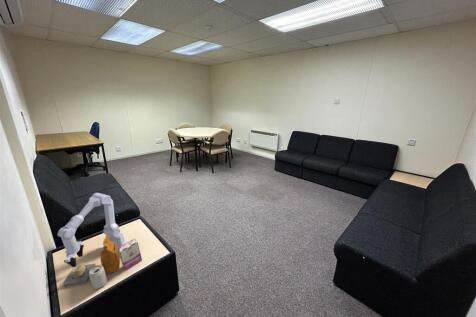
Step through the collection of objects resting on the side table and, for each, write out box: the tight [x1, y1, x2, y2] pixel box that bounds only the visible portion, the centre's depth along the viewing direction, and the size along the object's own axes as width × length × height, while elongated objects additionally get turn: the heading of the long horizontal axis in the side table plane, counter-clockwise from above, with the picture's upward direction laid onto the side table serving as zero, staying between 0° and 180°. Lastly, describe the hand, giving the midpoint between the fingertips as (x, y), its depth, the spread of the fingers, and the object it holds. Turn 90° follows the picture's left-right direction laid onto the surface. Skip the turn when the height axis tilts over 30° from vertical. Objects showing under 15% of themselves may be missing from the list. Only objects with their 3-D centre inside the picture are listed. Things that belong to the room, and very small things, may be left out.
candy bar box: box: [117, 238, 143, 271], centre depth 132 cm, size 11×5×16 cm, turn 137°
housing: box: [63, 263, 96, 288], centre depth 126 cm, size 12×12×2 cm
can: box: [89, 264, 108, 290], centre depth 119 cm, size 8×8×12 cm
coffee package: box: [99, 234, 121, 275], centre depth 129 cm, size 10×12×22 cm
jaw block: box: [71, 264, 86, 278], centre depth 125 cm, size 4×4×7 cm
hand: (77, 261), depth 125 cm, fingers open, 7 cm apart
